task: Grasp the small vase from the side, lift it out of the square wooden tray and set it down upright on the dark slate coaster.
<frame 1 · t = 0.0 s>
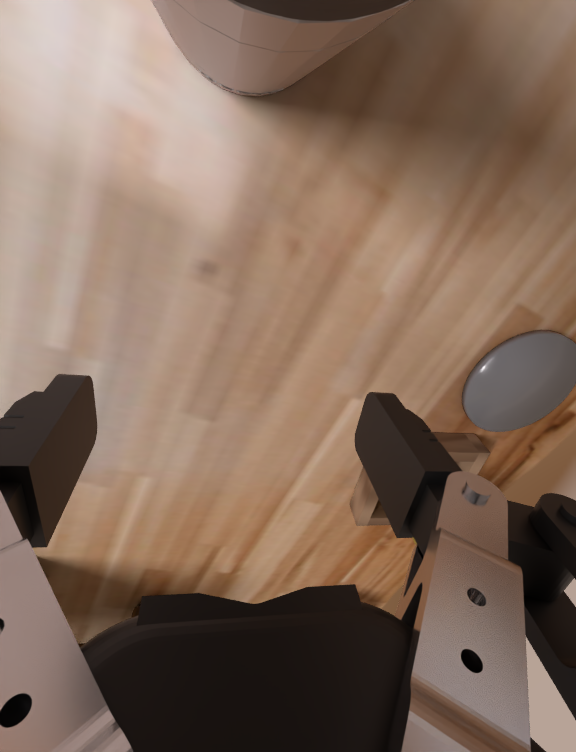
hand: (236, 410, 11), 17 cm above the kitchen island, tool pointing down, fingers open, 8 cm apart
coaster: (517, 382, 36), on the kitchen island
square wooden tray: (409, 470, 40), on the kitchen island
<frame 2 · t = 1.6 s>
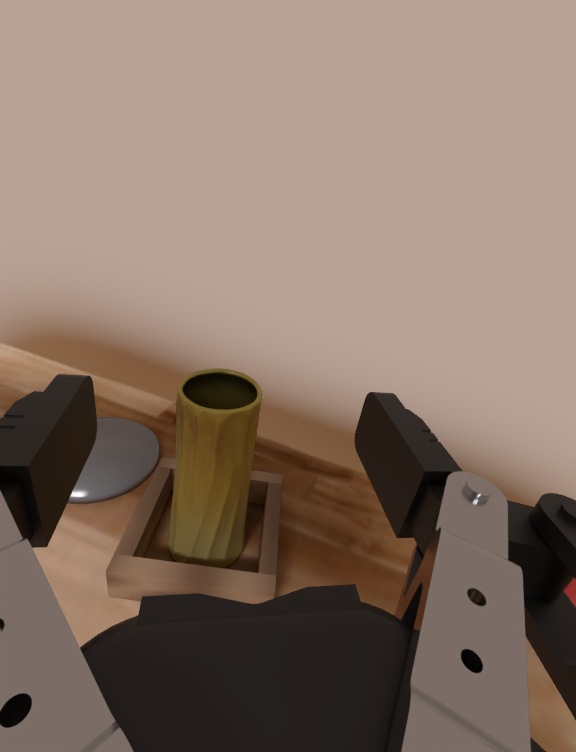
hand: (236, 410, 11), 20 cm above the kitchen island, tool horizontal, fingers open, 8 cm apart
coaster: (98, 458, 36), on the kitchen island
square wooden tray: (207, 538, 30), on the kitchen island
vase: (207, 539, 30), resting in square wooden tray
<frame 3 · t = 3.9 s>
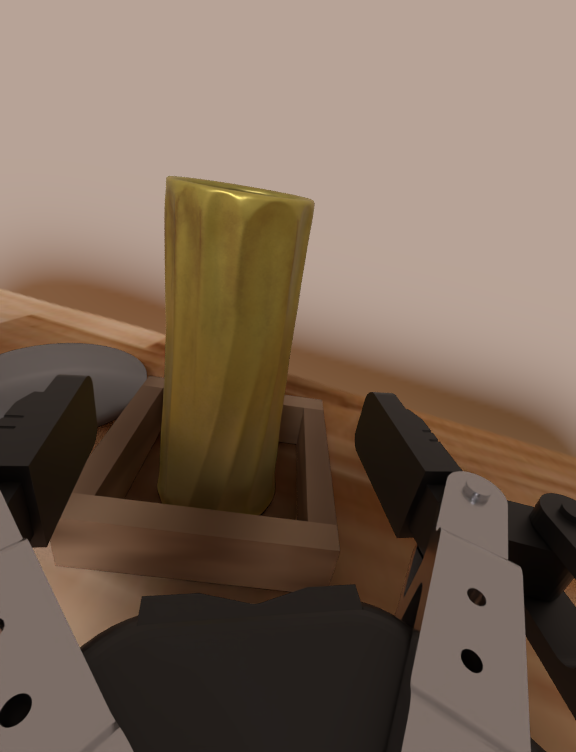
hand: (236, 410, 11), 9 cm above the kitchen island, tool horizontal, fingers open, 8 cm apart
coaster: (61, 387, 25), on the kitchen island
square wooden tray: (217, 483, 20), on the kitchen island
vase: (217, 486, 20), resting in square wooden tray
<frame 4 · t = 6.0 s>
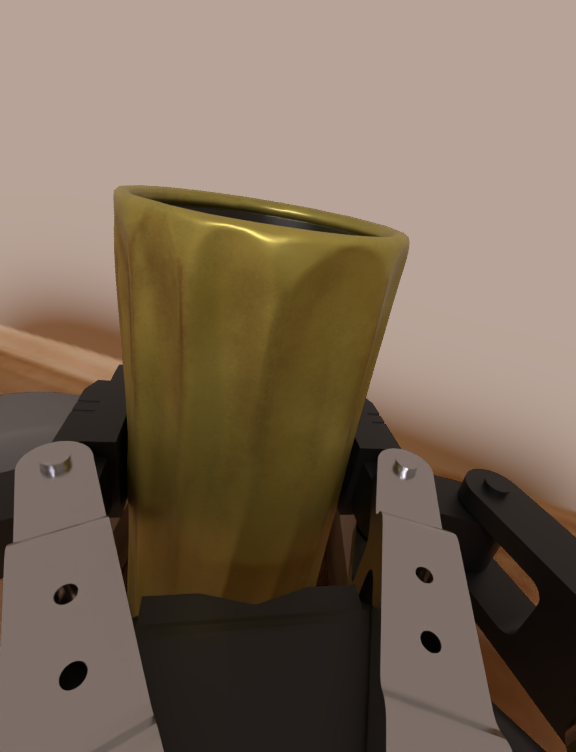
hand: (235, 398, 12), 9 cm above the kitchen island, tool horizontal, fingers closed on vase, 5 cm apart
coaster: (9, 461, 19), on the kitchen island
square wooden tray: (217, 635, 13), on the kitchen island
vase: (217, 638, 14), resting in square wooden tray, touching gripper
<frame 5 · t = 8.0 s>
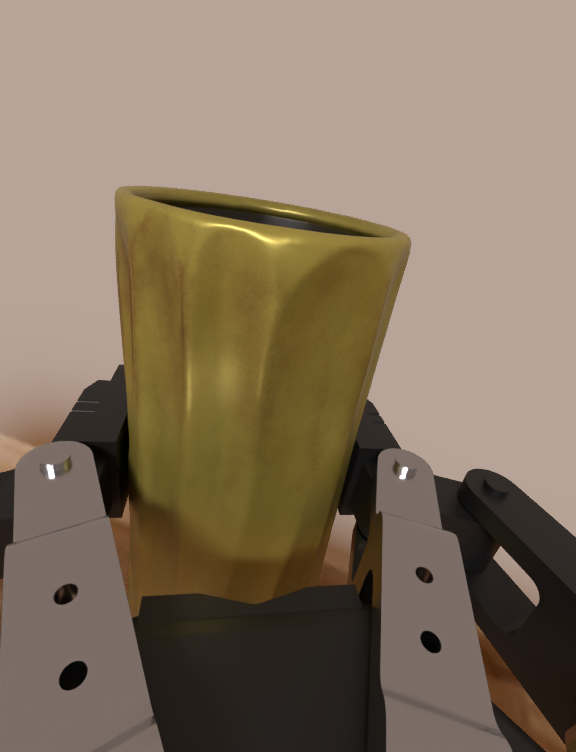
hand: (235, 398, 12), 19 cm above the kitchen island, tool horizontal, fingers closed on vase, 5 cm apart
vase: (218, 638, 14), point 10 cm above the kitchen island, touching gripper
when the fingers open (10 cm above the kitchen island, at t = 10.4 s): vase stays where it is, resting on coaster.
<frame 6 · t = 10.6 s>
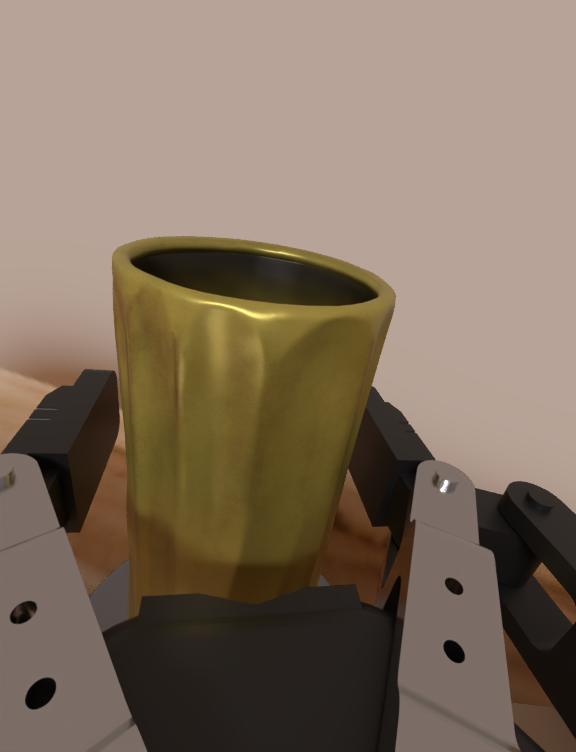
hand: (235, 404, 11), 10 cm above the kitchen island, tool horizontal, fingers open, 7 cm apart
coaster: (214, 660, 14), on the kitchen island
vase: (216, 656, 14), point 1 cm above the kitchen island, touching coaster
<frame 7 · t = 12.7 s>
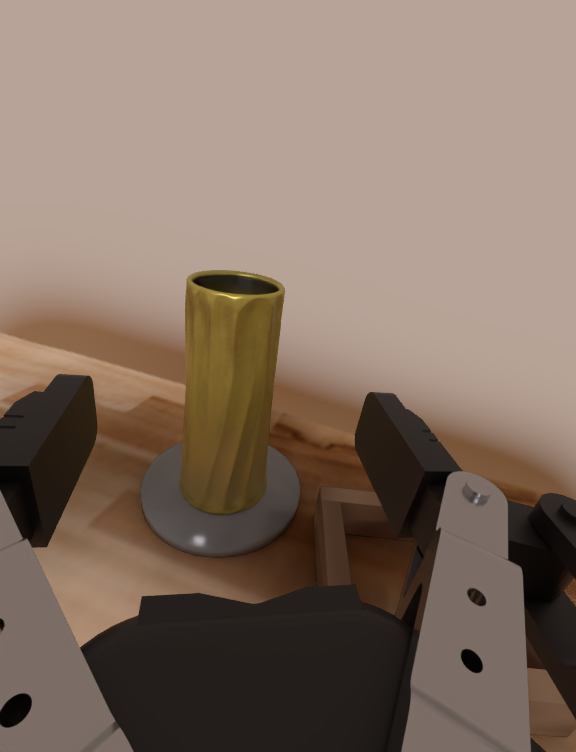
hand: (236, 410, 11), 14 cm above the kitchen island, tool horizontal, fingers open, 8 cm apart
coaster: (223, 489, 27), on the kitchen island
square wooden tray: (412, 602, 21), on the kitchen island
vase: (223, 484, 27), point 1 cm above the kitchen island, touching coaster
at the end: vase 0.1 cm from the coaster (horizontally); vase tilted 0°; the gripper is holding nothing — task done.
